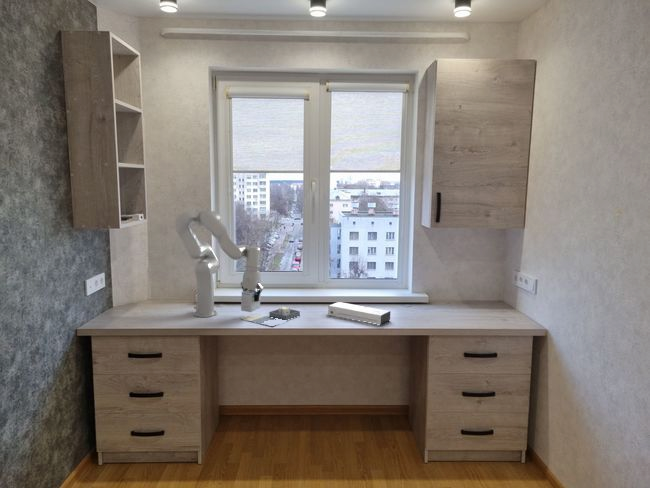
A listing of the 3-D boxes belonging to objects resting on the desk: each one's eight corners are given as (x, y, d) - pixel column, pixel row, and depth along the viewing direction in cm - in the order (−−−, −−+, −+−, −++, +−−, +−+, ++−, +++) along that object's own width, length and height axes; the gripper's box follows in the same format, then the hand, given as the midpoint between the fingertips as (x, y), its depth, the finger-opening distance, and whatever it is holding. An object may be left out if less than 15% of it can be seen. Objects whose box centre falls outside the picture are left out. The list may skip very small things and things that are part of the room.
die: (278, 315, 249) (278, 307, 249) (284, 314, 253) (284, 306, 252) (284, 317, 246) (284, 309, 246) (290, 315, 250) (290, 307, 249)
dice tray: (269, 317, 248) (269, 311, 248) (283, 312, 258) (283, 307, 258) (285, 321, 241) (285, 315, 241) (299, 316, 251) (299, 311, 251)
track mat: (240, 319, 243) (240, 318, 243) (255, 314, 253) (255, 313, 253) (272, 327, 230) (272, 326, 229) (287, 322, 239) (287, 321, 239)
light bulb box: (249, 306, 252) (250, 287, 250) (260, 308, 250) (261, 289, 248) (240, 310, 242) (241, 291, 240) (251, 312, 239) (252, 293, 238)
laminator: (390, 321, 245) (390, 311, 244) (380, 327, 235) (380, 315, 234) (338, 311, 263) (338, 301, 263) (327, 316, 253) (327, 305, 253)
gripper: (236, 266, 245) (235, 297, 247) (259, 272, 235) (257, 304, 237) (246, 265, 251) (244, 295, 253) (268, 270, 241) (267, 301, 243)
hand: (251, 299), depth 245 cm, fingers closed on light bulb box, 8 cm apart
